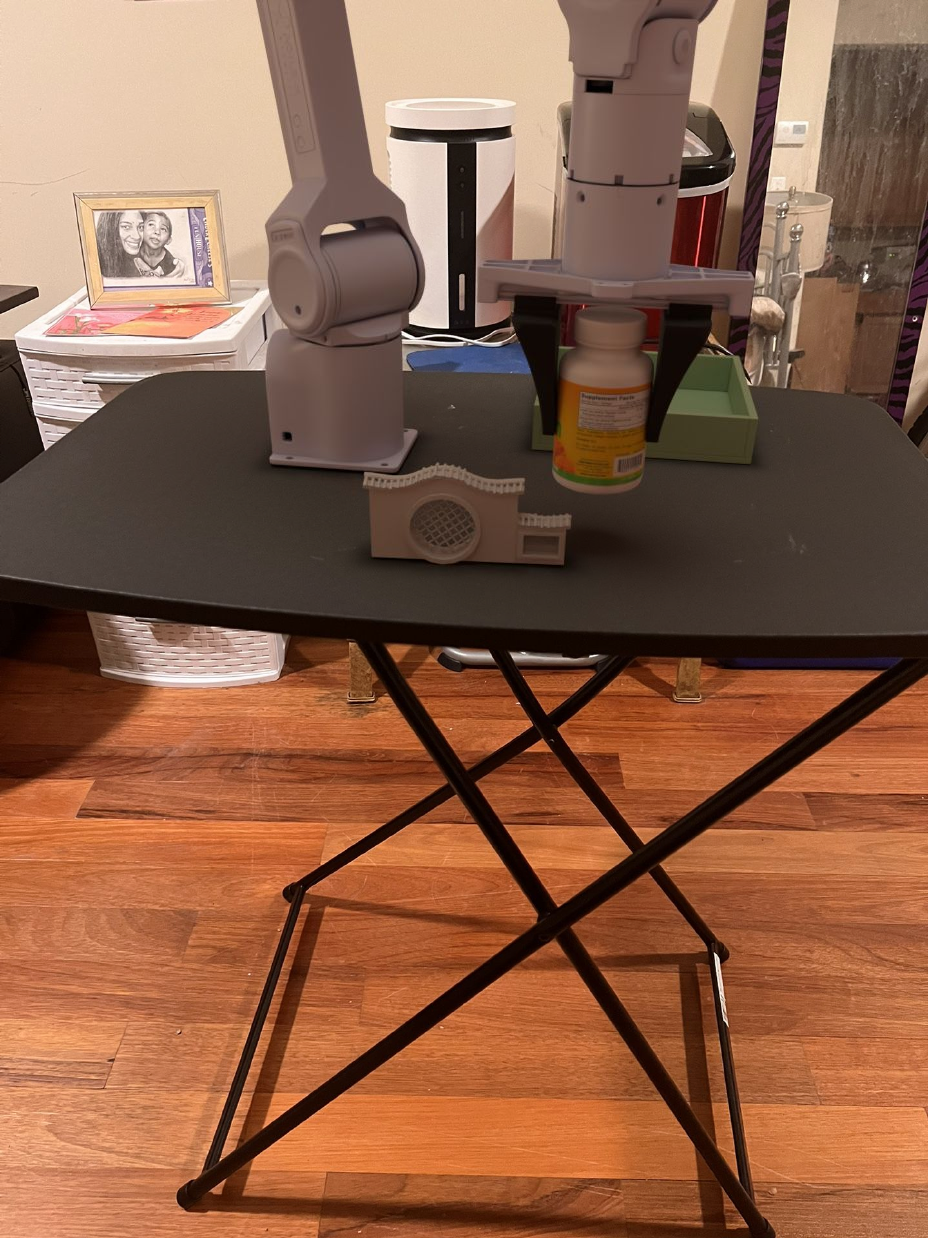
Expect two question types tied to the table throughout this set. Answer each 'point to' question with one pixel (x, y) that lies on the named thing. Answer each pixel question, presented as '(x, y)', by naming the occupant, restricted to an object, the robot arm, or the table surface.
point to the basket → (696, 414)
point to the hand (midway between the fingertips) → (599, 433)
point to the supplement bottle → (603, 402)
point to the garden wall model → (480, 497)
